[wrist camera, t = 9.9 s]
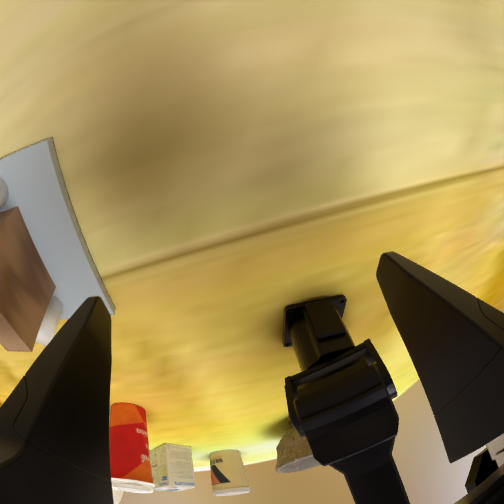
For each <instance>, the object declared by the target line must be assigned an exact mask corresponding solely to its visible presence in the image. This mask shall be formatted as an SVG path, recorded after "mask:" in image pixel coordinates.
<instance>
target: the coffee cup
mask: <svg viewBox="0 0 504 504" xmlns="http://www.w3.org/2000/svg"><path fill="white" fill-rule="evenodd" d="M210 467H211V479H212V489H213V491H212V493H213V494H214V496H228V495H238V494H244V493H248V492H250V487H249V483H248V479H247V476H246V472H245V469H244V465H243V462H242V458H241V455H240V452H239V451H238V450H222V451H216V452H213V453H211V454H210Z"/></svg>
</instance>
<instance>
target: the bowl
mask: <svg viewBox="0 0 504 504" xmlns="http://www.w3.org/2000/svg"><path fill="white" fill-rule="evenodd" d="M276 449H277V454H278V455H277V464H276V471H277V472H279V473H289V472H296V471H301V470H305V469H308V468H312V467H316V466H319V465H321V464H320V463H319V462H318V461H317V460H315V459H314V457H313V454H312V451H311V448H310V445H309V443H308V441H307V439H306V437H305V438H303V437H301V436H300V435H299V433H298V432H297V430H296V428H295V427H293V426H292V427H291V428H290V429H288V430H287V432H286V433H285V435H284V436H283V437H282V439H281V440H280V442H279V444H278V446H277V448H276Z"/></svg>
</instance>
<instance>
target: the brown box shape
mask: <svg viewBox="0 0 504 504" xmlns="http://www.w3.org/2000/svg"><path fill="white" fill-rule="evenodd" d="M55 288H56V286H55V284H54V282H53V280H52V279H51V277H50V275H49V273H48V271H47V269H46V267H45V265H44V263H43V261H42V259H41V257H40V255H39V253H38V251H37V249H36V247H35V245H34V243H33V240H32V238H31V236H30V234H29V231H28V229H27V227H26V224H25V222H24V220H23V217H22V215H21V212H20V210H19V207H18V206H17V207H14V208H11V209H8V210H5V211H3V212H0V343H1V345H2V346H3V347H4V348H5V349H6V350H7V351H18V352H32V350H33V347H34V344H35V341H36V338H37V335H38V332H39V329H40V326H41V323H42V321H43V318H44V315H45V313H46V310H47V308H48V305H49V303H50V300H51V298H52V295H53V293H54V291H55Z"/></svg>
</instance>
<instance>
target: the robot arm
mask: <svg viewBox="0 0 504 504" xmlns="http://www.w3.org/2000/svg"><path fill="white" fill-rule="evenodd" d="M376 277H377V280H378V283H379V285H380V288H381V290H382V293H383V295H384V298H385V301H386V303H387V306H388V309H389V311H390V314H391V316H392V318H393V320H394V322H395V325H396V327H397V329H398V331H399V333H400V335H401V337H402V339H403V341H404V344H405V346H406V348H407V350H408V352H409V355H410V357H411V359H412V362H413V364H414V366H415V368H416V371H417V373H418V376H419V378H420V380H421V383H422V385H423V388H424V390H425V393H426V395H427V398H428V400H429V403H430V406H431V408H432V411H433V414H434V415H435V416H434V417H435V420H436V423H437V425H438V428H439V431H440V434H441V437H442V440H443V443H444V446H445V449H446V453H447V456H448V459H449V462H450V463H453V462H455V461H457V460H459V459H461V458H462V457H464V456H466V455H468V454H470V453H472V452H474V451H475V450H477V449H479V448H481V447H482V446H484V445H486V446H487V448H485V449H484V450H483V451H482V452H480V453H479V454H478V455H477V456H475V457H474V459H473V462H472V465H471V469H470V472H469V475H468V478H467V481H466V484H465V487H466V490H467V492H468V494H467V495H466V496H464V497H463V498H462V499H460V500H459V501H458V502H456V503H454V504H504V313H503V312H501V311H499V310H497V309H495V308H494V307H492V306H490V305H489V304H487V303H485V302H484V301H482V300H480V299H479V298H476V297H475V296H474V295H472V294H470V293H468V292H467V291H465V290H463V289H462V288H460V287H458V286H456V285H455V284H453V283H451V282H449V281H448V280H446V279H444V278H442V277H440V276H439V275H437V274H435V273H433V272H431V271H429V270H428V269H426V268H424V267H422V266H420V265H418V264H416V263H415V262H413V261H411V260H409V259H407V258H405V257H403V256H401V255H399V254H397V253H395V252H393V251H391V252H385V253H383V254H382V255H381V257H380V261H379V264H378V268H377V272H376ZM346 301H347V299H346V297H345V296H344V295H341V296H337V297H332V298H327V299H322V300H317V301H312V302H307V303H302V304H297V305H292V306H288V307H286V308H285V311H284V329H283V345H284V347H289V346H293V347H294V350H295V353H296V356H297V359H298V362H299V365H300V368H301V371H302V372H300V373H298V374H296V375H293V376H288V377H286V378H285V392H286V399H287V405H288V412H289V418H288V421H289V424H290V425H291V426H293V427H295V428H296V430H297V432H298V433H299V435H300V436H301V437H303V438H305V437H306V439H307V441H308V443H309V445H310V448H311V451H312V454H313V457H314V459H315V460H317V461H318V462H319V463H320V464H321V465H323V466H326V465H330V466H331V467H333V468H334V469H336V470H338V471H339V472H341V473H343V474H344V476H345V478H346V481H347V483H348V486H349V488H350V491H351V494H352V496H353V499H354V501H355V504H410V503H409V500H408V497H407V494H406V492H405V488H404V486H403V483H402V480H401V477H400V475H399V472H398V470H397V467H396V464H395V462H394V459H393V457H392V450H393V445H394V441H395V436H397V432H398V425H399V422H398V421H399V417H398V414H397V412H396V409H395V407H394V404H393V402H392V399H393V398H395V397H397V391H396V388H395V385H394V383H393V381H392V378H391V376H390V374H389V372H388V370H387V368H386V366H385V365H384V363H383V361H382V359H381V358H380V356H379V354H378V353H377V351H376V349H375V348H374V346H373V344H372V343H371V341H370V339H367V340H365V341H364V342H363V343H361V344H359V345H357V346H356V347H355V345H354V343H353V340H352V338H351V336H350V334H349V332H348V330H347V328H346V326H345V324H344V322H343V320H342V316H343V312H344V309H345V305H346ZM111 364H112V355H111V316H110V313H109V311H108V309H107V307H106V306H105V304H104V302H103V300H102V298H101V297H100V296H92V297H88V298H87V299H86V300H85V301H84V302H83V303H82V304H81V305H80V307H79V308H78V309H77V310H76V311H75V312H74V313H73V315H72V316H71V317H70V318H69V319H68V320H67V322H66V323H65V324H64V325H63V326H62V328H61V329H60V330H59V331H58V332H57V334H56V335H55V336H54V337H53V339H52V340H51V341H50V342H49V344H48V345H47V346H46V347H45V349H44V350H43V351H42V352H41V354H40V355H39V356H38V358H37V359H36V360H35V362H34V363H33V364H32V366H31V367H30V368H29V370H28V371H27V372H26V374H25V376H23V378H22V379H21V380H20V382H19V383H18V385H17V386H16V387H15V389H14V390H13V391H12V393H11V394H10V396H9V397H8V398H7V399H6V401H5V402H4V403H3V405H2V406H1V407H0V504H114V500H113V491H112V482H111V468H110V446H109V405H110V381H111Z"/></svg>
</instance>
